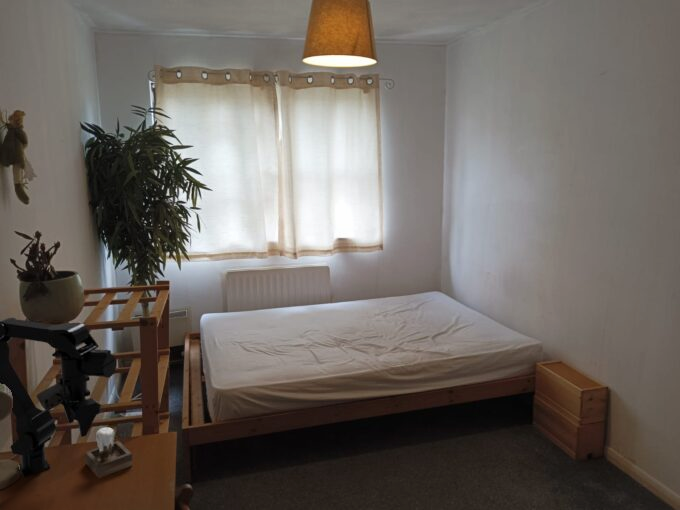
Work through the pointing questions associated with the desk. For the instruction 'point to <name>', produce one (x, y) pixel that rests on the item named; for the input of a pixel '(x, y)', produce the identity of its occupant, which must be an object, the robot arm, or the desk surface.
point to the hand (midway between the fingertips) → (77, 429)
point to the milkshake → (105, 443)
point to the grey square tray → (119, 461)
